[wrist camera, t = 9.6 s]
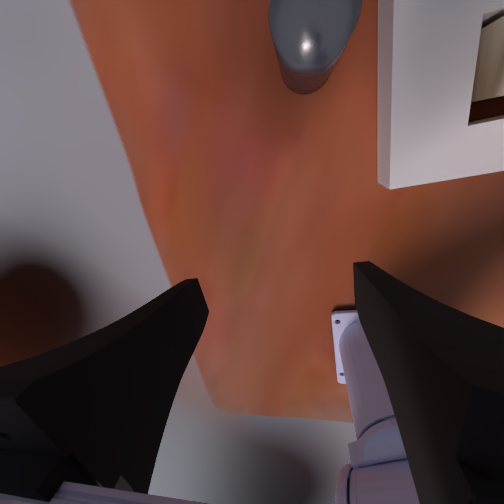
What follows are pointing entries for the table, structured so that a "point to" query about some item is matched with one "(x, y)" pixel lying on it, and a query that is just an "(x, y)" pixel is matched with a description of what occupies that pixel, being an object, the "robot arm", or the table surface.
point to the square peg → (490, 63)
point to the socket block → (432, 92)
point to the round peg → (310, 38)
